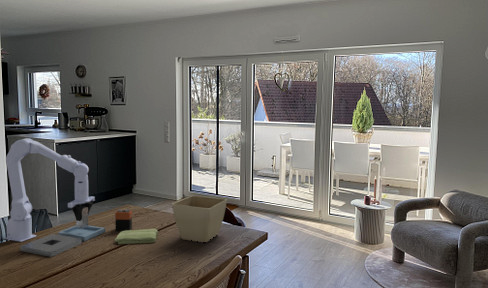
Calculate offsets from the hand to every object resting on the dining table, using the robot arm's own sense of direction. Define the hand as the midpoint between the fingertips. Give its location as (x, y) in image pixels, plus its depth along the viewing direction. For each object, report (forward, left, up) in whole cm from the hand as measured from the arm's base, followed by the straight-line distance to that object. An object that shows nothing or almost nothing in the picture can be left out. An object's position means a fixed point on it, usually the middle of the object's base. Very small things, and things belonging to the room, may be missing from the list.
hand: (82, 219), depth 169 cm
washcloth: (+26, +5, -8) cm, 28 cm away
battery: (+13, +13, -7) cm, 20 cm away
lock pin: (0, 0, -3) cm, 3 cm away
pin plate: (0, -17, -7) cm, 18 cm away
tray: (0, 0, -7) cm, 7 cm away
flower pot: (+51, +18, -7) cm, 55 cm away
